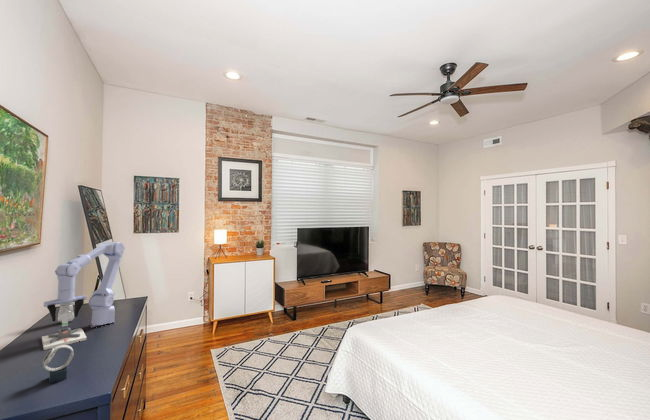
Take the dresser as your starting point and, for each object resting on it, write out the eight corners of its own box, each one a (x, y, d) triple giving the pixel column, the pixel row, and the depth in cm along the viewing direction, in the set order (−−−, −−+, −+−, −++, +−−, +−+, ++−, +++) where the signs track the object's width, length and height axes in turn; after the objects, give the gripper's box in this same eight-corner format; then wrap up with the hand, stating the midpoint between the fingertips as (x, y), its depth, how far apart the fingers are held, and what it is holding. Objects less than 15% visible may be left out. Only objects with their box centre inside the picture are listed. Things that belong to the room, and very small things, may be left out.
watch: (41, 379, 97) (43, 347, 97) (72, 370, 102) (73, 340, 103) (40, 386, 93) (42, 353, 93) (73, 377, 98) (74, 345, 99)
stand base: (81, 330, 139) (81, 321, 140) (86, 339, 129) (87, 330, 129) (41, 339, 129) (42, 329, 129) (43, 350, 118) (44, 339, 118)
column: (70, 323, 132) (71, 310, 132) (71, 325, 129) (72, 312, 130) (57, 325, 129) (58, 312, 129) (58, 328, 126) (59, 314, 126)
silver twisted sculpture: (77, 320, 153) (78, 284, 153) (62, 325, 146) (63, 286, 147) (69, 319, 155) (71, 283, 156) (54, 323, 148) (56, 285, 149)
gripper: (83, 285, 138) (82, 312, 137) (42, 291, 126) (41, 321, 126) (88, 287, 134) (87, 315, 133) (46, 293, 122) (44, 324, 122)
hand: (65, 318), depth 129 cm, fingers open, 7 cm apart
